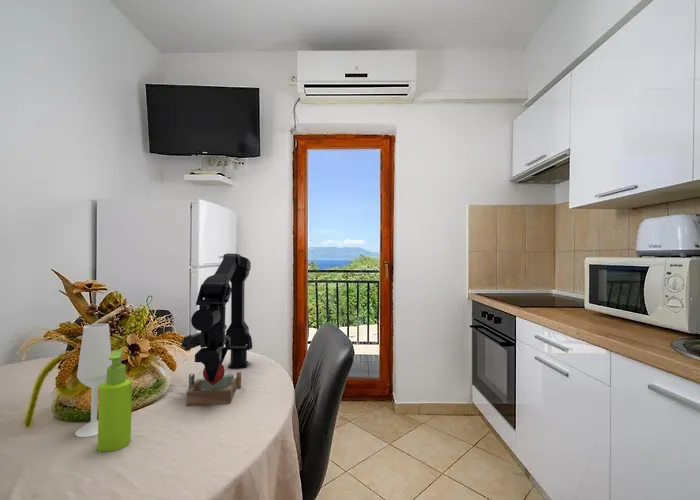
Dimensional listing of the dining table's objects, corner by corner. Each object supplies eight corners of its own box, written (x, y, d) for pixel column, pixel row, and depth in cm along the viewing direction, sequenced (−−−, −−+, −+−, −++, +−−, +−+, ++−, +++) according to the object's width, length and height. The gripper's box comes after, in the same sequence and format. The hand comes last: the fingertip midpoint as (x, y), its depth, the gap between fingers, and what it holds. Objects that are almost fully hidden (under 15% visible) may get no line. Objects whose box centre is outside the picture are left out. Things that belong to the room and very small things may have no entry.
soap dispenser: (94, 457, 69) (96, 357, 70) (100, 441, 76) (102, 348, 76) (128, 450, 72) (131, 353, 72) (131, 434, 78) (134, 346, 79)
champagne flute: (104, 419, 85) (107, 321, 85) (116, 428, 81) (118, 325, 82) (70, 430, 80) (73, 326, 80) (81, 440, 76) (84, 330, 76)
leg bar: (233, 383, 110) (233, 373, 110) (233, 386, 108) (233, 376, 108) (196, 387, 106) (197, 377, 106) (196, 390, 104) (196, 380, 104)
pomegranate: (227, 381, 103) (228, 354, 103) (218, 389, 97) (219, 360, 97) (209, 380, 103) (209, 353, 103) (198, 387, 98) (199, 359, 98)
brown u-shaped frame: (198, 388, 106) (198, 373, 106) (241, 386, 108) (241, 372, 108) (186, 406, 93) (186, 389, 94) (234, 403, 96) (235, 387, 96)
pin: (189, 388, 105) (189, 373, 105) (194, 388, 106) (195, 373, 106) (187, 390, 104) (188, 375, 104) (193, 390, 104) (193, 375, 104)
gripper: (194, 317, 108) (193, 368, 108) (174, 331, 90) (173, 391, 90) (231, 317, 110) (230, 366, 110) (219, 330, 92) (218, 389, 92)
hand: (213, 377), depth 100 cm, fingers closed on pomegranate, 6 cm apart
